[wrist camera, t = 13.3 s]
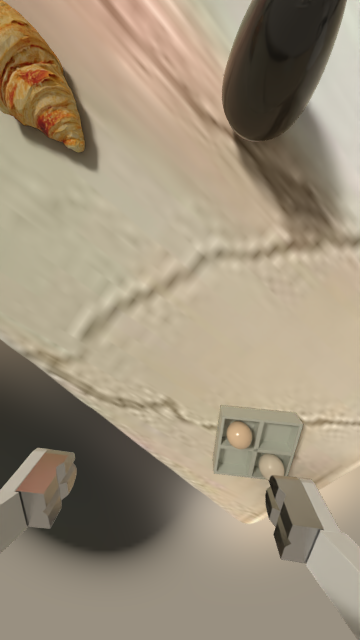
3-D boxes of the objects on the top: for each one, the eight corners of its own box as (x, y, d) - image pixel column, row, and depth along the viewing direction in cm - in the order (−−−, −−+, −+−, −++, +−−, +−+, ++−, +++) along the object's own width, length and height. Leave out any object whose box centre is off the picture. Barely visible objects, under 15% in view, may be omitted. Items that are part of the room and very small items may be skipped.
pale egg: (281, 448, 43) (291, 471, 38) (276, 465, 44) (285, 489, 40) (257, 446, 43) (265, 468, 39) (253, 463, 45) (260, 486, 40)
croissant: (110, 150, 33) (108, 99, 26) (58, 183, 31) (40, 138, 23) (1, 16, 29) (-40, -93, 21) (-68, 43, 27) (-141, -69, 19)
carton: (295, 412, 41) (303, 424, 38) (280, 467, 46) (285, 481, 43) (220, 405, 42) (222, 416, 39) (212, 460, 46) (213, 473, 43)
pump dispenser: (292, 43, 25) (421, -240, 11) (300, 140, 28) (410, 19, 14) (211, 74, 27) (230, -139, 12) (226, 164, 30) (256, 77, 15)
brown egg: (251, 417, 41) (256, 437, 36) (247, 435, 42) (252, 457, 38) (227, 413, 42) (229, 433, 37) (224, 432, 43) (226, 453, 38)
